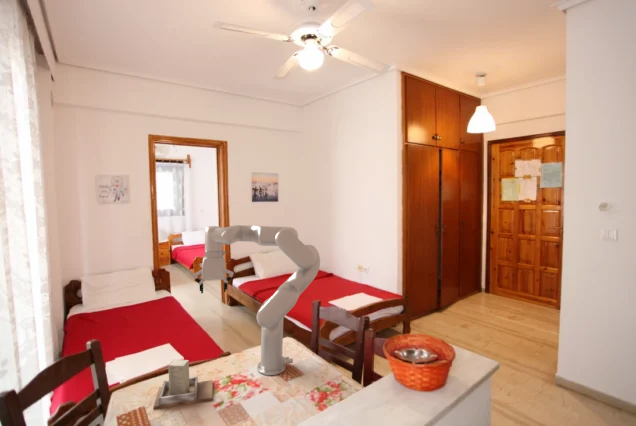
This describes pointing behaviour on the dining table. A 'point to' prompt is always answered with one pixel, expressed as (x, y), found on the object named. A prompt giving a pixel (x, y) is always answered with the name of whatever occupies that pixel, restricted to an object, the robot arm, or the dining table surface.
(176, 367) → the skincare box
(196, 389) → the box stand
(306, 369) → the dining table surface
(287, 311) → the robot arm
